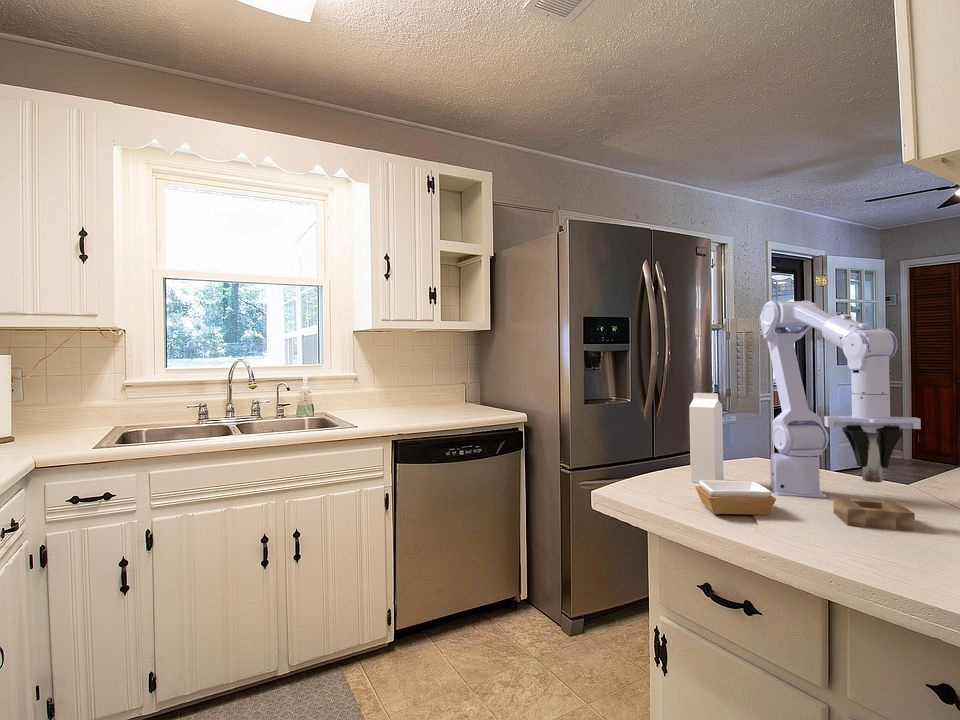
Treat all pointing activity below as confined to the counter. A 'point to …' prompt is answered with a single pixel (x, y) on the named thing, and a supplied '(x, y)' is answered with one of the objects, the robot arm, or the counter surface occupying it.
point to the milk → (706, 437)
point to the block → (874, 513)
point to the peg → (873, 457)
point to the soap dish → (735, 497)
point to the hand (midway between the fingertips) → (871, 466)
